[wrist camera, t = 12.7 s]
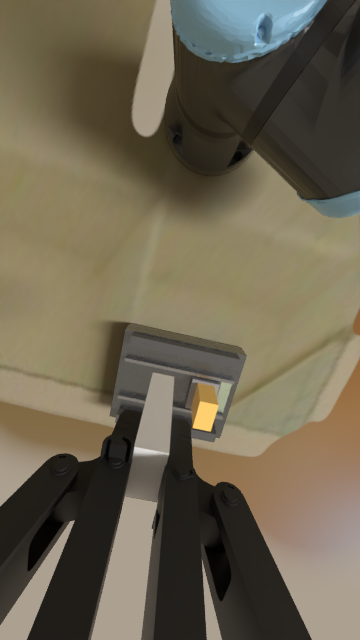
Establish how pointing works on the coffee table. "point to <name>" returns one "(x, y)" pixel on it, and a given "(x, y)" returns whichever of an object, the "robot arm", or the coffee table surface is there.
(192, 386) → the handle
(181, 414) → the grey rail base
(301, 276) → the coffee table surface
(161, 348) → the pair of guide rails
